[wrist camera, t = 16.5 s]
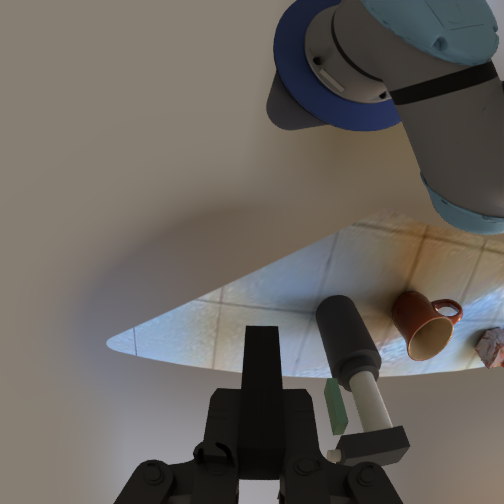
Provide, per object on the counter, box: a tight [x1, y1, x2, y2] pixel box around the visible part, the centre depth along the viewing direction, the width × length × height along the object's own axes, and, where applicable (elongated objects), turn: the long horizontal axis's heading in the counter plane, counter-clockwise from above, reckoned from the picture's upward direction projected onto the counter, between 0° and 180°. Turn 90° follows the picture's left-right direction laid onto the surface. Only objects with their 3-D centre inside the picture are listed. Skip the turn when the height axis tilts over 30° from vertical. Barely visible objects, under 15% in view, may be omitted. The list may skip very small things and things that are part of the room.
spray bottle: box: [316, 295, 410, 467], centre depth 35 cm, size 10×7×28 cm
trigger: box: [324, 378, 348, 435], centre depth 30 cm, size 1×3×7 cm, turn 0°
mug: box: [392, 291, 463, 361], centre depth 43 cm, size 12×9×10 cm
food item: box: [475, 327, 504, 368], centre depth 48 cm, size 14×8×10 cm, turn 84°
